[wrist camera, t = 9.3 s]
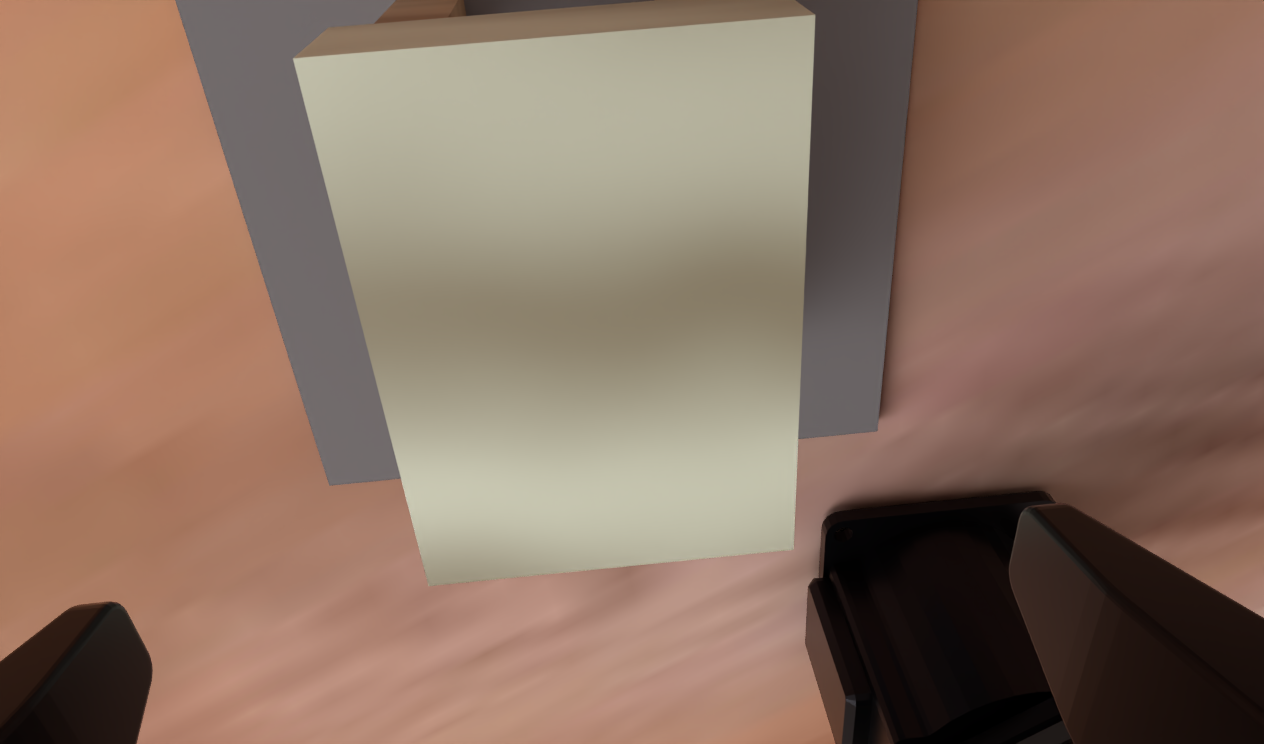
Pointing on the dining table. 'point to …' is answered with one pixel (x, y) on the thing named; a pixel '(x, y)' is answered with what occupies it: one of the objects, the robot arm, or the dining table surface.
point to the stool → (577, 271)
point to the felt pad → (310, 3)
